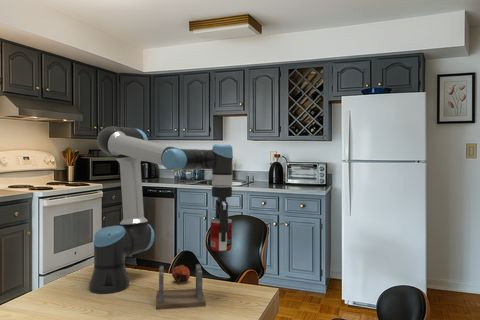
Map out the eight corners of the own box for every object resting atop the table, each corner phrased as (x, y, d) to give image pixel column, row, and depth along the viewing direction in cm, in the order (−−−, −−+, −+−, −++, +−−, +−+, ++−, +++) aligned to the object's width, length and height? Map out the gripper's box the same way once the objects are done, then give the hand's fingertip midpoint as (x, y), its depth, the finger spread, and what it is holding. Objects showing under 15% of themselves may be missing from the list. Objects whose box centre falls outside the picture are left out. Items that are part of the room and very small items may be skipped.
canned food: (229, 252, 137) (229, 222, 137) (207, 251, 139) (208, 221, 138) (233, 247, 145) (234, 218, 144) (213, 246, 146) (213, 217, 146)
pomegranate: (188, 290, 155) (195, 270, 163) (182, 279, 151) (189, 259, 159) (172, 290, 158) (180, 270, 165) (165, 279, 154) (173, 259, 161)
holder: (156, 294, 144) (156, 264, 144) (201, 292, 147) (202, 262, 147) (155, 309, 130) (155, 276, 130) (205, 306, 133) (205, 273, 133)
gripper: (208, 183, 151) (207, 241, 151) (215, 188, 130) (214, 255, 131) (227, 183, 152) (226, 240, 152) (237, 188, 132) (236, 254, 132)
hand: (220, 247), depth 142 cm, fingers closed on canned food, 8 cm apart
